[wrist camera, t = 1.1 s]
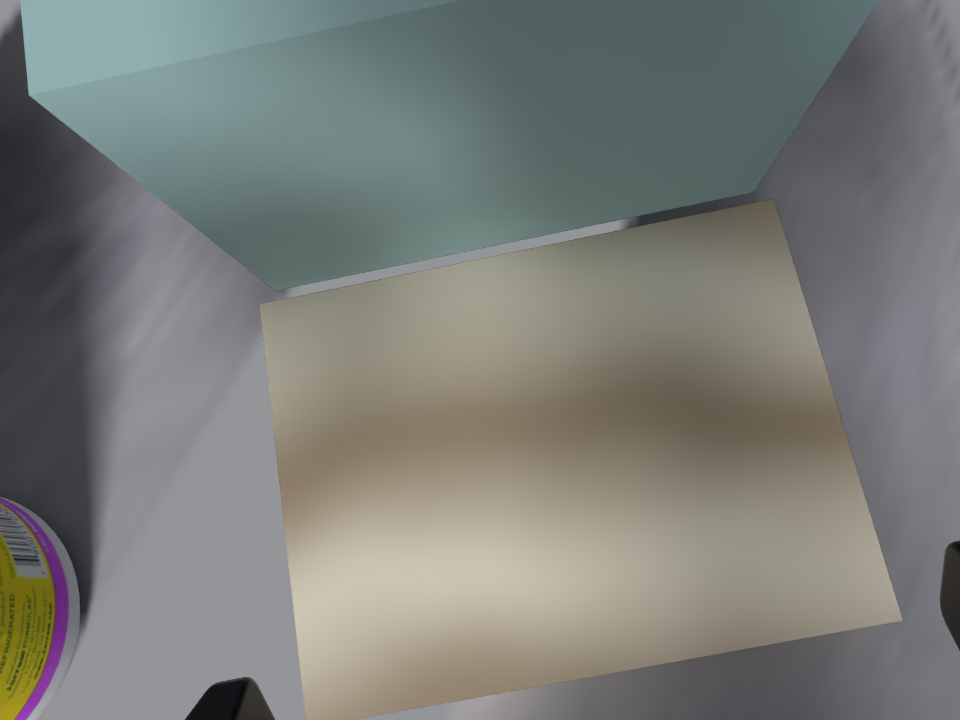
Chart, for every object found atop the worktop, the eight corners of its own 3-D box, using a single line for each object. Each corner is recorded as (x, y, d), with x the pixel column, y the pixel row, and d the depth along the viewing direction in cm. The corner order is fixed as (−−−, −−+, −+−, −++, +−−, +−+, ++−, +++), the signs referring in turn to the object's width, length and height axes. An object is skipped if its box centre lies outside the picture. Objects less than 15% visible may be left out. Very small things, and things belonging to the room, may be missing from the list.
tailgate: (753, 192, 20) (948, -108, 10) (274, 290, 21) (29, 95, 11) (729, 102, 21) (895, -266, 11) (262, 201, 21) (14, -65, 11)
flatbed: (875, 617, 19) (902, 620, 18) (327, 717, 20) (306, 728, 18) (759, 225, 22) (774, 198, 20) (280, 323, 22) (259, 303, 21)
